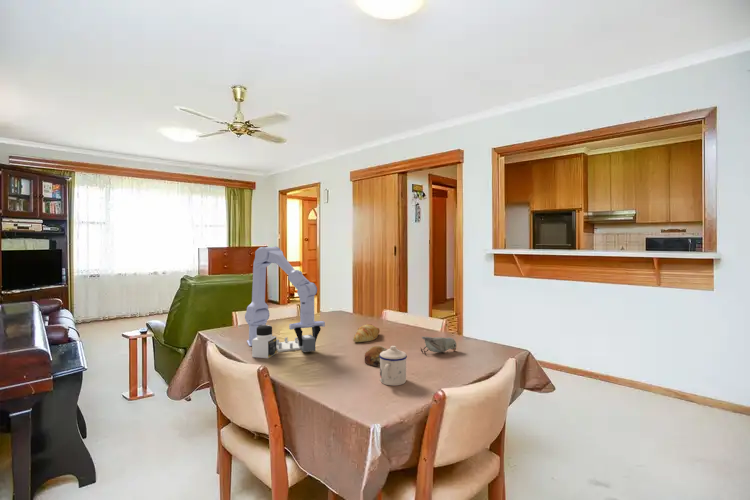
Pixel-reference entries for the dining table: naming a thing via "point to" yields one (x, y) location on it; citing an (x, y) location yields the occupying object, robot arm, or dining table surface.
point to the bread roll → (374, 355)
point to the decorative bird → (439, 344)
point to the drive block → (308, 343)
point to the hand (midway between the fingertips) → (307, 344)
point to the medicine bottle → (264, 342)
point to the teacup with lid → (393, 367)
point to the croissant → (366, 333)
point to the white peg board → (287, 345)
